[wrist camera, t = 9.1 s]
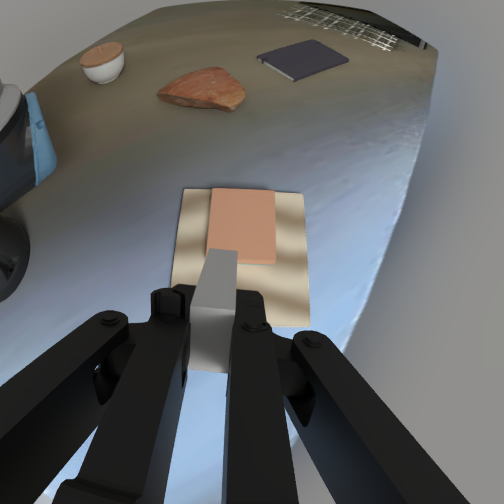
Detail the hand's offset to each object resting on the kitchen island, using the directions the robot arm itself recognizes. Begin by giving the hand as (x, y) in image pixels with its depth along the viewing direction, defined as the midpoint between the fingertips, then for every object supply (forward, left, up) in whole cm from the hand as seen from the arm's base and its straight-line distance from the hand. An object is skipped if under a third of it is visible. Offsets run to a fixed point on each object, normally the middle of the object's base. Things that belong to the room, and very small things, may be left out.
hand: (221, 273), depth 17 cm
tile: (-13, +9, -22) cm, 27 cm away
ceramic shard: (-43, +16, -24) cm, 52 cm away
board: (-10, +7, -24) cm, 27 cm away
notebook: (-50, +46, -25) cm, 72 cm away
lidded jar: (-67, 0, -24) cm, 71 cm away
